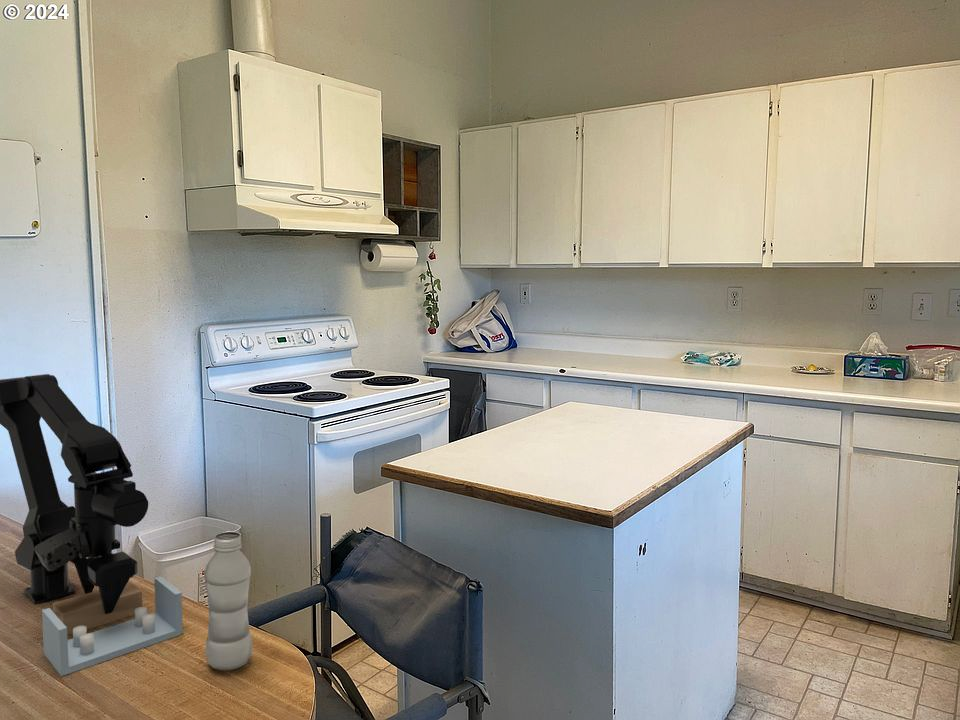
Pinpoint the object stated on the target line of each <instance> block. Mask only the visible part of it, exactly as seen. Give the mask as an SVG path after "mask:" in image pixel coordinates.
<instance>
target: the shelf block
mask: <svg viewBox="0 0 960 720" xmlns="http://www.w3.org/2000/svg"><path fill="white" fill-rule="evenodd" d="M139 607H143V591H142V590H141V589H140V588H139V587H138V586H136V584H134V583H133V582H131V581H128V583H127V584H126V586H125V588H124V590H123V592H122V593H121V596H120V598H119V600H118V602H117V604H116V606H115V608H114V610H113V612H112V613H109V614H105V613H104V609H103V605H102V600H101V596H100V591H99V589H98V590H95V591H94V590H93V592H91V593H87V594H85V593H84V594H81V595H78V596H74V597H71V598H69V597H68V598H66V599H63V600H59V601H56V602H52V611H53V612H54V614H55V615H56V616H57V617H58V618H59V619H60V620H61V622H62V623H63V624H64V625H65V626H66V627H67V637H68V636H70V635H73V629H74V628H75V627H78V626H86V630H87V631H88V630H89V629H93V628H96V627H99V625H100V626H102V625H106V624H109V623H111V622H116V621H119V620H121V619H124V618H128V617H131V616H135V609H137V608H139Z"/></svg>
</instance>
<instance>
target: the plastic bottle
mask: <svg viewBox="0 0 960 720" xmlns="http://www.w3.org/2000/svg"><path fill="white" fill-rule="evenodd" d="M213 537H214V538H213V540H214V543H213V547H212V548H213V551H215V552H214V553H213V554H212V556H211V557H210V558H209V560H208V561H207V563H206V564H205V568H204V571H203V577H204V583H205V589H206V594H207V603H208V615H209V616H208V629H207V637H206V642H205V648H204V649H205V650H204V653H205V657H206V661H207V663H208V664H209V665H210V666H211V668H213V670H217V671H227V672H228V671H233V670H237V669H239V668H241V667H243V666H245V665H246V664H247V663H248V662H249V660H250V659H251V656H252V651H253V639H252V634H251V631H250V625H249V614H248V603H249V602H248V601H249V600H248V599H249V590H250V583H251V572H252V566H251V564H250V561H249V560H248V559H247V557H246V555H244V553H243V552H242V551H241V548H242V547H243V546H242V545H243V544H242V534H241V533H240V532H237V531H231V530H230V531H221V532H219V533H216V534H215V535H214V536H213Z"/></svg>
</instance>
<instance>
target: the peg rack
mask: <svg viewBox="0 0 960 720" xmlns="http://www.w3.org/2000/svg"><path fill="white" fill-rule="evenodd" d="M182 593H183V592H182V591H181V590H179V589H178V588H177V587H175V586H174V585H173V584H171V583H170V582H169V581H168V580H166V579H165V578H164V577H162V576H160V575H159V576H157V577H154V605H155V606H154V611H155V612H152V613H148V608H147V607H146V606H142V607H139V608H137V609H135V615H134V618H133V619H130V620H127V621H123V622H120V623H117V624H114V625H111V626H107V627H104V628H102V629H98V630H96V631H95V630H94V631H93V632H89V633H87V631H88V629H87V630H86V626H78V627H75V628H74V629H73V634H72V638H70V639H68V636H67V627H66V626H65V625H64V624H63V623H62V622H61V620H60V619H59V618H58V617H57V616H56V615H55V614H54V612H53V609H51V608H50V607H48V608H47V607H46V608H45V609H42V610H41V617H42V618H41V620H42V643H43V655H44V656H45V657H46V659H47V660H48V662H49V663H51V665H52V666H53V668H54V669H55V671H56V672H57V673H58V675H59V676H61V677H63V676H66V675H69V674H72V673H75V672H77V671H79V670H80V671H81V670H83V669H84V670H85V669H86V668H89V667H92V666H94V665H95V666H96V665H97V664H100V663H104V662H106V661H109V660H112V659H115V658H119V657H120V656H123V655H126V654H129V653H131V652H135V651H138V650H141V649H143V648H146V647H149V646H152V645H155V644H158V643H160V642H164V641H167V640H169V639H172V638H175V637H178V636H181V635H183V634H184V633H183V601H182V600H183V599H182V598H183V594H182Z"/></svg>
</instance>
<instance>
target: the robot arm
mask: <svg viewBox="0 0 960 720" xmlns="http://www.w3.org/2000/svg"><path fill="white" fill-rule="evenodd" d="M41 418H42V419H41ZM41 420H43V421H44V423H46V424H47V426H48V427H49V429H50V430H51V431H52V432H53V434H54V435H55V436H56V437H57V438H58V440H59V441H60V443H61V450H60V451H61V452H60V457H61V459H62V461H63V463H64V465H65V467H66V469H67V470H68V471H69V473H70V476H68V478H67V481H68V482H69V483H71V484H73V490H74V491H73V496H74V506H73V505H70V506H68V505H67V504H66V503H64V502H63V500H61V497H60V493H59V490H58V486H57V482H56V479H55V475H54V472H53V471H54V470H53V468H52V464H51V461H50V460H51V459H50V457H49V456H50V455H49V453H48V450H47V444H46V442H45V438H44V434H43V431H42V427H41V423H40V421H41ZM0 425H1V426H2V427H3V428H5V429H6V430H7V431H8V432H7V433H8V434H9V435H8V436H9V439H10V442H11V443H10V444H11V446H12V450H13V453H14V457H15V461H16V466H17V469H18V473H19V476H20V480H21V484H22V487H23V488H22V489H23V492H24V496H25V500H26V502H27V503H26V504H27V506H28V507H27V508H28V512H27V515H26V518H25V520H24V523H23V525H22V531H23V539H21V541H20V543H19V544H18V545H17V547H16V549H15V551H14V555H15V559H16V564H17V565H19V566H21V567H23V568H25V569H27V570H29V574H30V586H29V587H25V588H24V593H25V594H26V595H27V596H28V597H29V599H30V600H31V601H32V602H33V603H34V604H39V603H43V602H46V601H49V600H53V599H58V598H62V597H65V596H68V595H72V594H75V593H76V592H77V589H76V588H75V587H74V586H73V585H72V584H71V582H69V562H70V563H72V564H74V568H75V569H76V573H77V575H78V579H79V582H80V584H81V587H82V590H83V592H84V594H87V593H91V592H94V588H95V587H98V590H99V591H100V596H101V600H102V605H103V609H104V613H105V614H109V613H112V612H113V610H114V608H115V606H116V604H117V602H118V600H119V598H120V596H121V593H122V592H123V590H124V588H125V586H126V584H127V583H128V582H130V581H129V580H130V578H133V577H134V576H135V575H137V574H138V561H137V560H136V559H135V558H134V557H132V556H131V555H129V554H128V553H126V552H125V551H123V550H122V551H119V552H116V553H113V552H112V551H113V550H117V549H121V541H120V540H118V539H117V538H116V537H117V536H116V535H117V533H116V532H117V531H116V525H117V526H118V525H119V526H121V527H124V528H127V527H128V528H131V527H134V526H136V525H137V524H138V523H140V522H141V521H142V520H144V518H145V517H146V514H147V512H148V509H149V500H148V498H147V495H145V494H144V492H142V491H141V490H138V489H137V486H136V484H137V483H136V482H135V481H133V480H125V479H129V478H133V476H134V474H133V471H132V469H131V467H132V464H131V462H130V461H129V459H128V457H127V455H126V454H125V452H124V450H123V448H122V445H121V443H120V441H118V439H117V438H116V437H115V436H114V435H113V434H112V433H111V432H110V431H108V430H107V429H106V428H105V427H104V426H100V425H97V424H95V423H92V422H90V421H89V420H88V419H87V418H86V417H85V416H84V415H83V413H82V412H81V411H80V409H78V408H77V406H76V405H75V404H74V403H73V401H72V400H71V399H70V398H69V396H68V395H67V394H66V393H65V392H64V391H63V389H62V388H61V386H59V382H58V379H57V377H56V376H55V375H53V374H49V373H44V374H35V375H27V376H20V377H11V378H0ZM115 467H116V468H115ZM114 468H115V469H114ZM104 470H105V471H104ZM100 471H102V472H100Z"/></svg>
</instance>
